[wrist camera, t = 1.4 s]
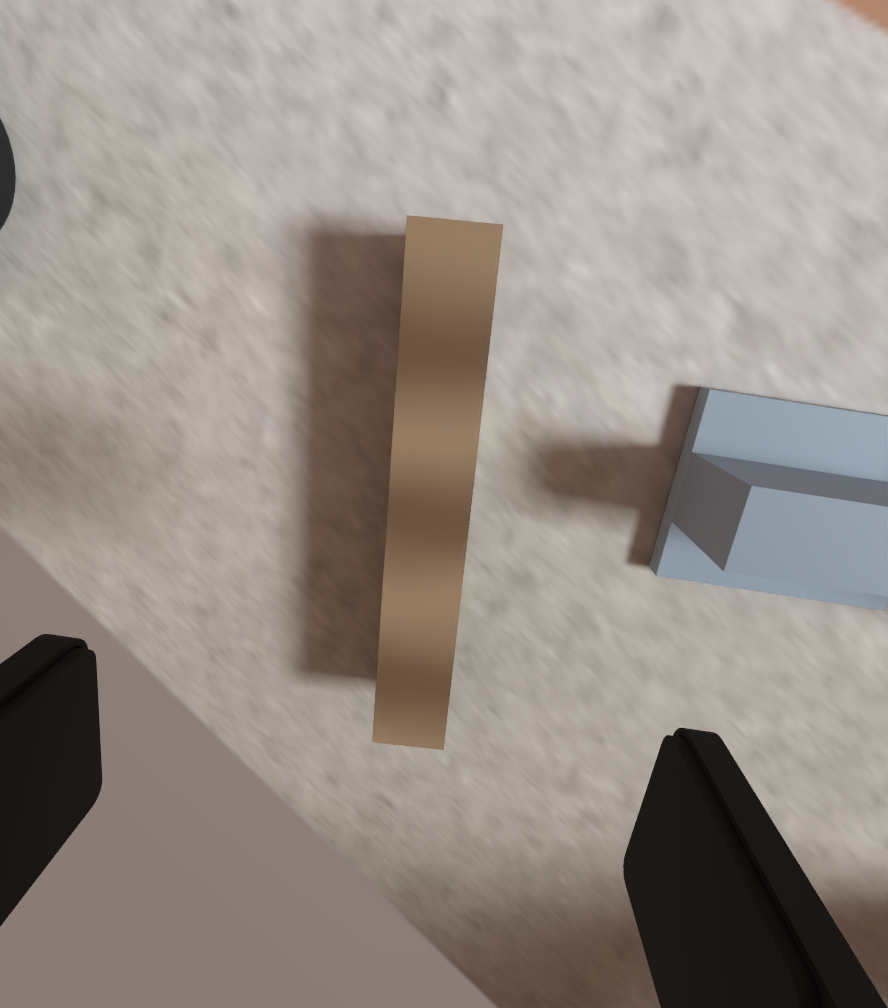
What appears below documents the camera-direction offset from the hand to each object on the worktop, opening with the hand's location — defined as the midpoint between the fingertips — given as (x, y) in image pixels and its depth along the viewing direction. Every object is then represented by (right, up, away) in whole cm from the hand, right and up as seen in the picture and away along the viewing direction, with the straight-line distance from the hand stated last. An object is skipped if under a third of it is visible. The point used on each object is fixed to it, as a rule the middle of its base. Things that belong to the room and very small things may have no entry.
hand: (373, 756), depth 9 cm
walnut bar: (+1, +5, +16) cm, 16 cm away
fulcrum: (+16, +4, +15) cm, 22 cm away
